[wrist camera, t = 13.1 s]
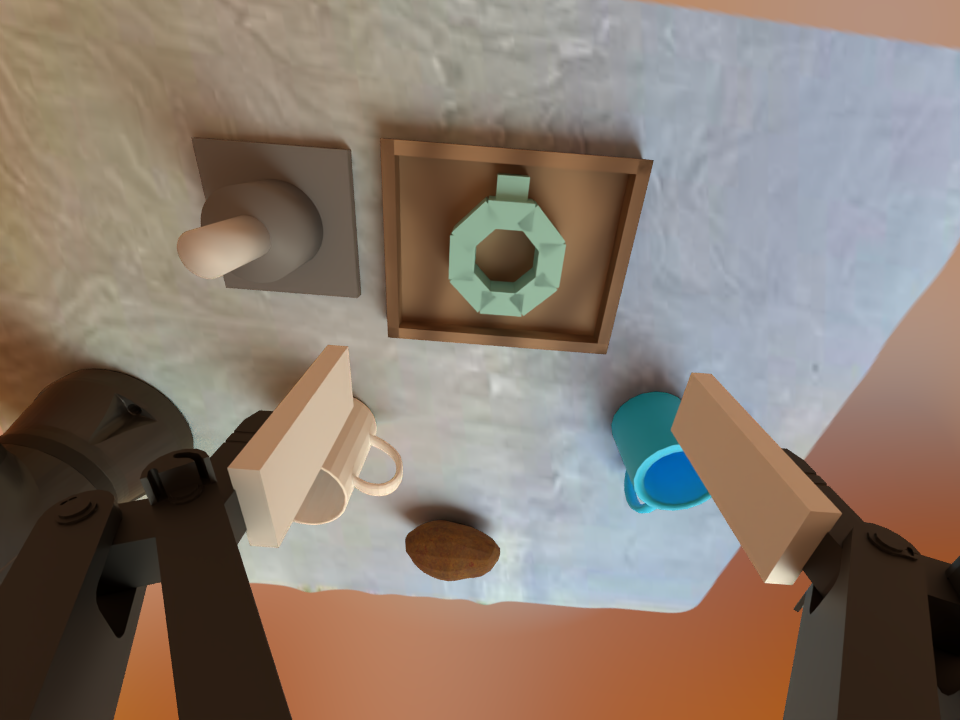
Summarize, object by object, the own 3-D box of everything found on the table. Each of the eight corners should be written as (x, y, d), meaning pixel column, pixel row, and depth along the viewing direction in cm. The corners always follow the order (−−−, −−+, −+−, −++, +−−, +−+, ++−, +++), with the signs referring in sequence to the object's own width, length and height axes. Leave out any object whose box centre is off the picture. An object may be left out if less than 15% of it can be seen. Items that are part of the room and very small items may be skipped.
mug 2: (629, 383, 42) (657, 434, 34) (703, 401, 42) (746, 454, 35) (587, 469, 47) (603, 527, 40) (652, 483, 48) (680, 543, 41)
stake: (232, 284, 38) (136, 336, 28) (199, 137, 32) (64, 135, 22) (361, 294, 38) (312, 349, 28) (350, 149, 32) (285, 153, 22)
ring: (450, 298, 37) (447, 310, 34) (455, 169, 32) (452, 172, 29) (549, 306, 37) (553, 319, 34) (569, 178, 32) (576, 182, 29)
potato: (495, 549, 54) (495, 601, 48) (409, 540, 54) (398, 591, 48) (502, 514, 51) (504, 565, 45) (411, 504, 51) (399, 553, 45)
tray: (394, 326, 39) (388, 337, 37) (388, 138, 32) (380, 138, 30) (599, 342, 40) (606, 354, 37) (642, 158, 32) (653, 160, 30)
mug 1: (312, 448, 47) (267, 523, 38) (300, 390, 43) (247, 457, 34) (417, 452, 47) (398, 529, 38) (414, 395, 43) (392, 464, 34)
